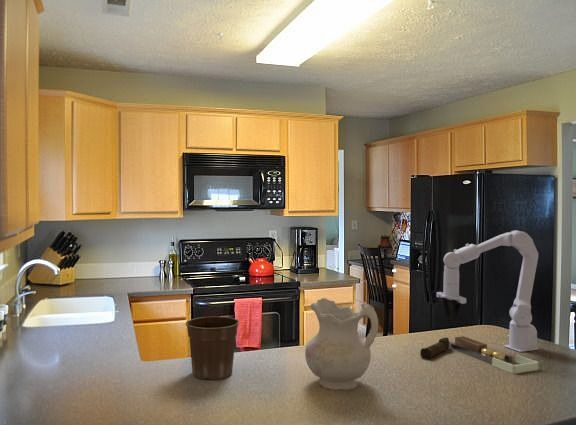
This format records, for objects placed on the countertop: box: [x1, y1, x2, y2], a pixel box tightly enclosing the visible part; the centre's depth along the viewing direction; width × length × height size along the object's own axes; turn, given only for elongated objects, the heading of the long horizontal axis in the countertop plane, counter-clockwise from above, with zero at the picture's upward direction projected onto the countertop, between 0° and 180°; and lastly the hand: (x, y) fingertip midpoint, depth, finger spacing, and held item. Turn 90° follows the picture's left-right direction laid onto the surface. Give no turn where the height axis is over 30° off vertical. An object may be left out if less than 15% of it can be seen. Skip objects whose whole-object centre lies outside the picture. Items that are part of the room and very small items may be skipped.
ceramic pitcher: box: [304, 297, 379, 391], centre depth 153 cm, size 22×20×25 cm
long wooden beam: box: [454, 335, 488, 353], centre depth 190 cm, size 4×12×4 cm, turn 23°
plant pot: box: [185, 316, 240, 381], centre depth 159 cm, size 16×16×16 cm
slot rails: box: [448, 340, 513, 365], centre depth 188 cm, size 9×24×2 cm, turn 24°
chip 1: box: [481, 347, 495, 357], centre depth 182 cm, size 4×4×3 cm
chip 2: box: [492, 350, 506, 362], centre depth 179 cm, size 4×4×3 cm
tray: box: [491, 354, 540, 375], centre depth 172 cm, size 11×9×2 cm
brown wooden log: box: [420, 337, 450, 360], centre depth 186 cm, size 19×4×5 cm, turn 137°
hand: (450, 318), depth 200 cm, fingers open, 3 cm apart
